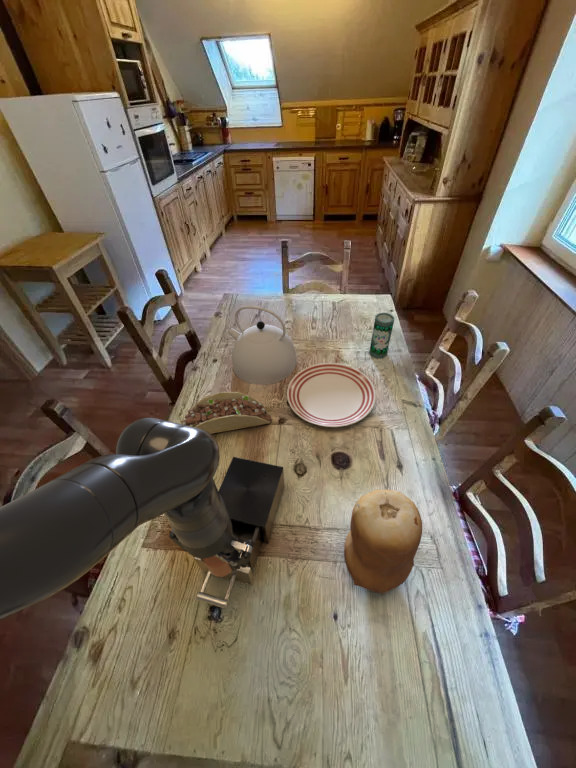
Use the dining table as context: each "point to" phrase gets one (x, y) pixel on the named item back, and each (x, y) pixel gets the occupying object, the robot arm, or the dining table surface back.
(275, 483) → the black rectangular box
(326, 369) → the dinner plate
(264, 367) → the kettle
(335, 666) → the dining table surface
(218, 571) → the copper tin
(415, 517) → the butternut squash
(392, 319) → the can
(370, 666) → the dining table surface
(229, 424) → the taco
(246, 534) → the wooden drawer
